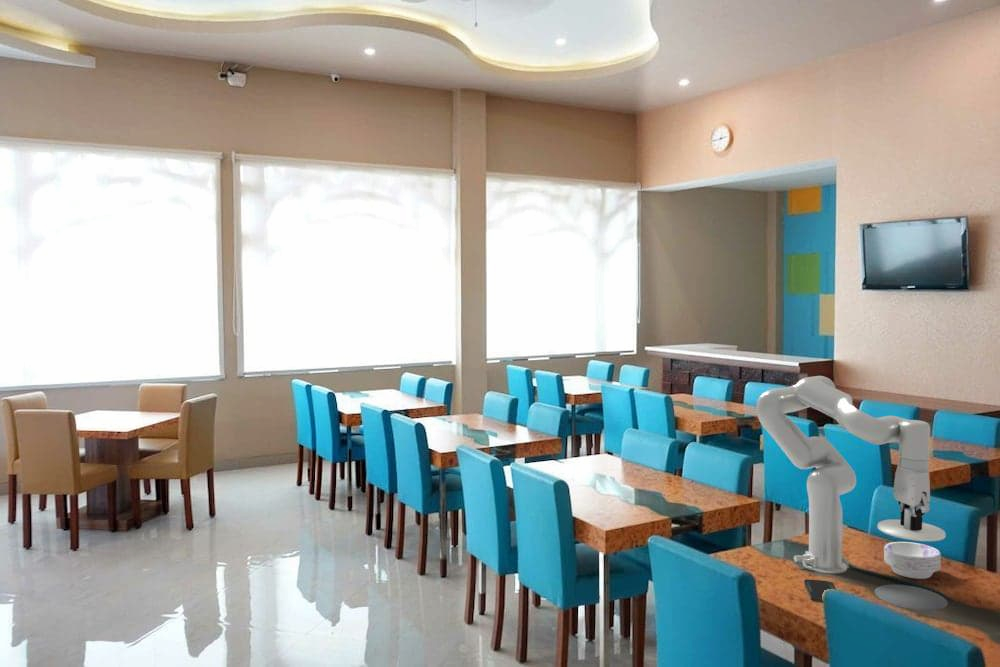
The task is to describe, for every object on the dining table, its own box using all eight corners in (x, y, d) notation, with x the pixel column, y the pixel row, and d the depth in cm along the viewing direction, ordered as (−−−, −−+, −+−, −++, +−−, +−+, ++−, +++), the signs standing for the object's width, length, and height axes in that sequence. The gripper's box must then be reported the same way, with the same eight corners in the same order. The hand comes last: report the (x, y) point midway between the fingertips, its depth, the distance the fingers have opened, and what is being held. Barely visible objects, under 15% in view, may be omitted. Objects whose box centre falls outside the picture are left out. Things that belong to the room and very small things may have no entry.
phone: (832, 581, 223) (840, 601, 209) (832, 585, 223) (840, 605, 209) (803, 578, 225) (809, 598, 211) (803, 582, 225) (809, 602, 211)
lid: (901, 542, 206) (902, 519, 206) (865, 522, 223) (866, 501, 223) (959, 540, 208) (960, 517, 208) (919, 521, 225) (920, 500, 225)
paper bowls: (873, 566, 237) (873, 541, 237) (918, 564, 239) (919, 539, 239) (904, 584, 222) (904, 558, 222) (952, 582, 224) (953, 556, 224)
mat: (902, 613, 202) (902, 612, 202) (861, 588, 220) (861, 586, 220) (963, 609, 204) (963, 607, 204) (917, 584, 222) (917, 583, 222)
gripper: (883, 457, 222) (881, 519, 224) (920, 471, 206) (917, 537, 207) (907, 457, 223) (904, 518, 224) (945, 470, 207) (943, 536, 208)
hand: (911, 526), depth 216 cm, fingers closed on lid, 3 cm apart
